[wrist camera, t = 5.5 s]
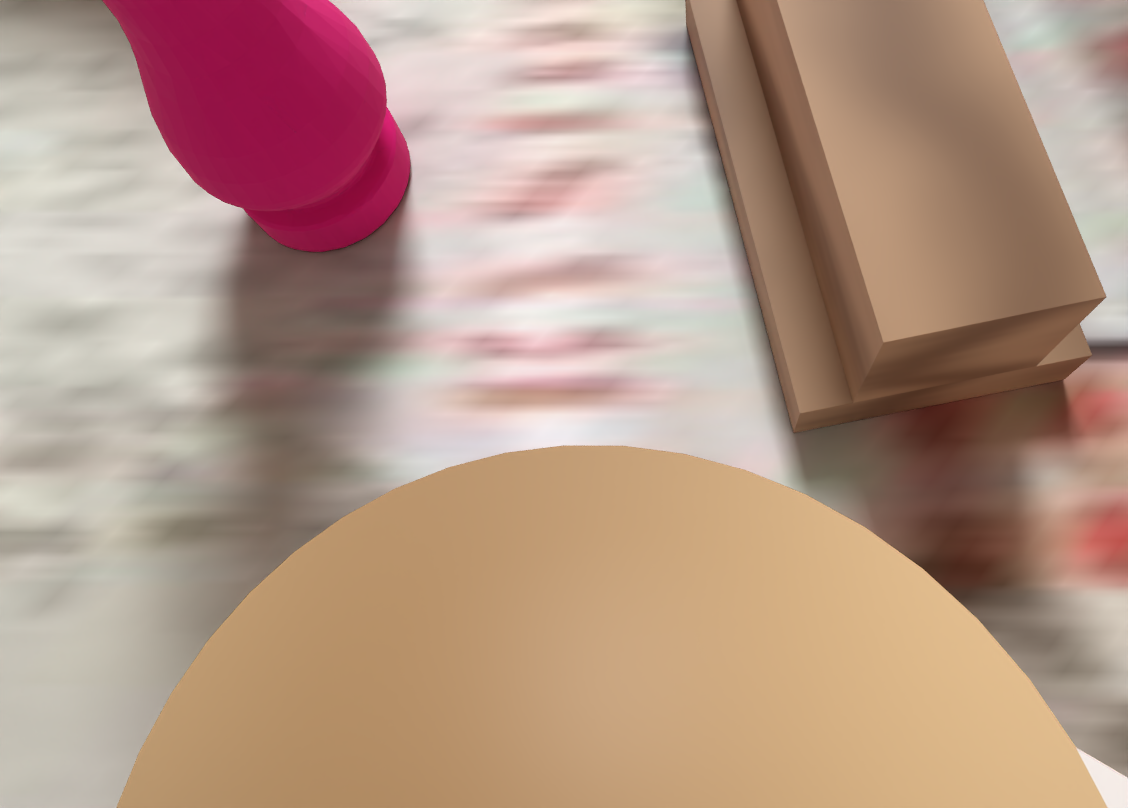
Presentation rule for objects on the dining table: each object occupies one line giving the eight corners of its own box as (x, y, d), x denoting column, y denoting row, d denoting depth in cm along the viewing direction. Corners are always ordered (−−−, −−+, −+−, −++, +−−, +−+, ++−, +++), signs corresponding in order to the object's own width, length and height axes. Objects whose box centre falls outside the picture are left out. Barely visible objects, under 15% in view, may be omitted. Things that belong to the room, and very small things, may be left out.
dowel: (616, 832, 17) (46, 1785, 2) (589, 650, 19) (88, 532, 4) (794, 807, 17) (1425, 1752, 2) (754, 623, 18) (969, 363, 3)
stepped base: (793, 433, 26) (819, 355, 20) (686, 23, 32) (680, -136, 25) (1063, 379, 25) (1175, 282, 19) (906, -31, 31) (955, -209, 25)
